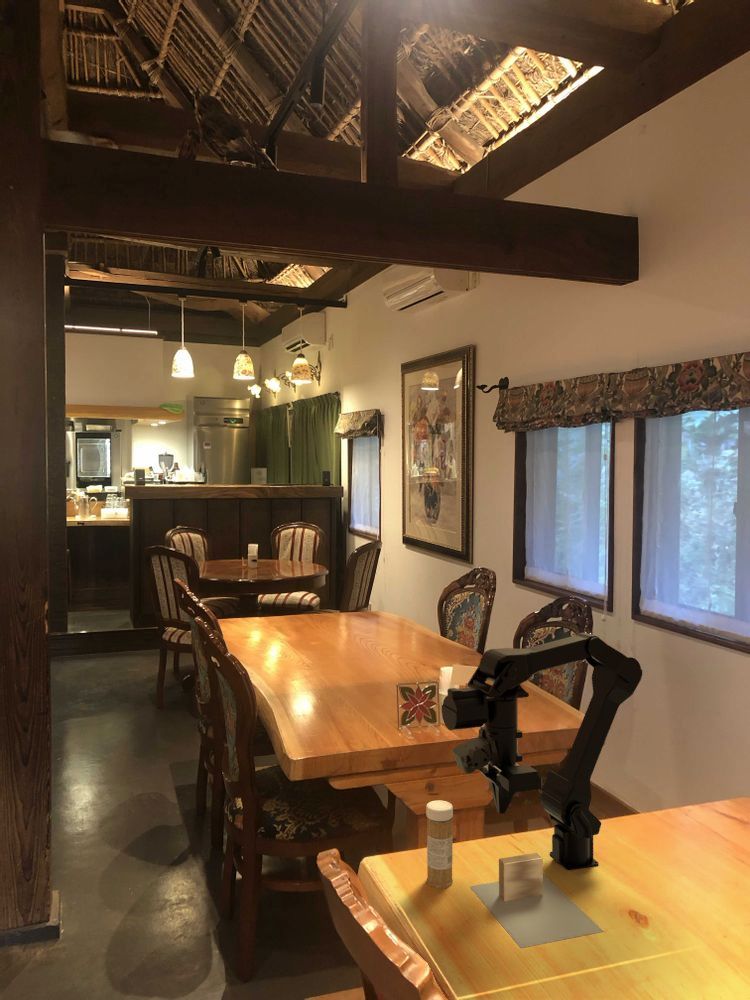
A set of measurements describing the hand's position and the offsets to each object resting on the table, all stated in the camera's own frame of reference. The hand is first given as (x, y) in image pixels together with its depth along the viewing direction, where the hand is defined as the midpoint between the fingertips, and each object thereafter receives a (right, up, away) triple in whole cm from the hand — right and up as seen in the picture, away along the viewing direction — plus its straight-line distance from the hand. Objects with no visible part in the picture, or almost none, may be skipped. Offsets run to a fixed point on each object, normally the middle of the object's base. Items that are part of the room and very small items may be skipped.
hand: (501, 813), depth 128 cm
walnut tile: (+2, -11, -7) cm, 13 cm away
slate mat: (+3, -11, -11) cm, 16 cm away
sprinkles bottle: (-11, -11, -2) cm, 16 cm away
